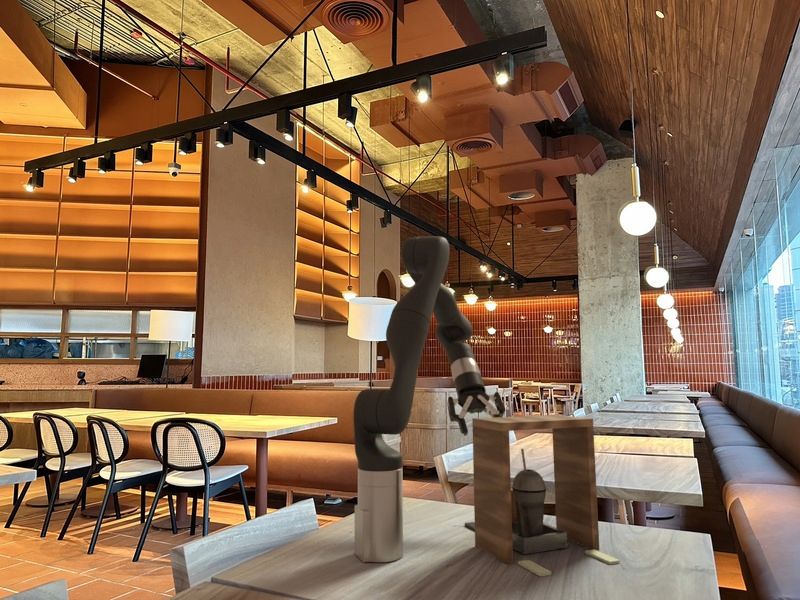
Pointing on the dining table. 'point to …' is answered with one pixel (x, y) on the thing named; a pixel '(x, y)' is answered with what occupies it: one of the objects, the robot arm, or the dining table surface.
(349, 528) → the dining table surface
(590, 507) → the tunnel
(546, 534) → the shallow grey tray
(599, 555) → the pair of cream slabs
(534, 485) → the beverage cup
